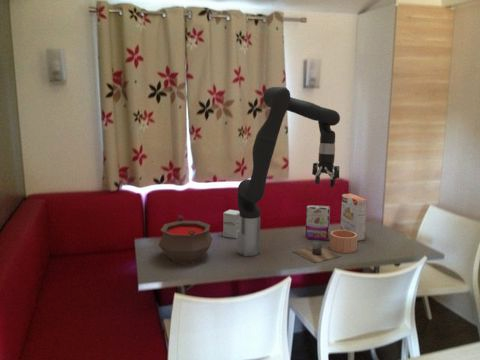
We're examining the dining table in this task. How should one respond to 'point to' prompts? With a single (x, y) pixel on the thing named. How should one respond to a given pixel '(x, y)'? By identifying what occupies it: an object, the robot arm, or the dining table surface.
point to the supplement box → (231, 223)
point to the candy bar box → (317, 222)
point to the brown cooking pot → (185, 240)
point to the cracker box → (354, 214)
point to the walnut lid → (317, 253)
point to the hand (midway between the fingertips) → (324, 185)
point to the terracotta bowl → (343, 241)
